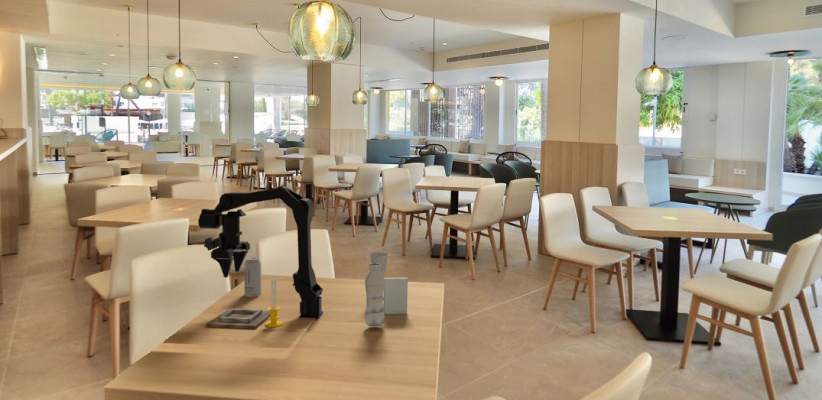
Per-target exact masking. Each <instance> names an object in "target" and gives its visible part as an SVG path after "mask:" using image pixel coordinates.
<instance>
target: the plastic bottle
mask: <svg viewBox="0 0 822 400" xmlns="http://www.w3.org/2000/svg"><path fill="white" fill-rule="evenodd" d="M368 267H369V268H368V270H369V272H368V274H367V275H366V277H364V278H365V279H364V286H365V297H366V300H365V301H366V303H365V304H366V305H365V311H364V312H365V313H364V322H365V323H364V324H366V326H368V327H371V328H373V327H380V326H383V324H384V323H385V319H386V318H385V317H386V316H385V315H386V314H384V311H383V310H384V300H383V298H384V284H385V279H384V278H385V276H383V275H382V274H381V272H380V270H381V264H379V263H371V262H370V263H369V265H368Z"/></svg>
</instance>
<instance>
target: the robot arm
mask: <svg viewBox="0 0 822 400" xmlns="http://www.w3.org/2000/svg"><path fill="white" fill-rule="evenodd" d="M277 199H278V200H279V199H280V200H281V201H282V202H283V203H284V204H285V205H286V206H287V207H289V209H291V211H292V215H293V219H294V222H295V224H296V227H297V228H296V229H297V233H296V234H297V259H298V267H297V271H295V272H294V273H292V279H293V280H292V281H293V284H292V287H294V290H295V292H296V293H297V294H299V297H300V300H301V301H299V314H300V315H299V317H300V318H307V319H308V318H309V319H319V318H320V317H321V316H322V315H323V313H324V311H323V309H322V306H323V305H322V300H323V299H322V296H321V295H322V294H323V291H324V289H323V287H322V286H320V284H319V283H318V282H317V277H316V273H315V271H314V268H313V265H312V264H313V263H312V240H311V239H312V236H311V235H312V234H311V224H312V221H313V217H314V211H315V204H314V202H313V200H311V199H310V198H306V197H303V196H302V195H300V194H299V193H297V192H295V191H293V189H291V188H290V187H288V186H284V185H283V186H279V187H276V188H270V189H269V188H268V189H264V190H258V191H251V192H244V191H243V192H240V191H238V192H237V191H233V192H225V193H223V194H222V195H221V196H220V197H219V200H218V201H219V202H218V203H217V204H216V206H215V207H214V208H213V209H212V208H211V209H210V208H201V212H200V214H199V217H198V219H197V221H198V227H199V228H200V229H208V230H209V229H210V230H218V229H220V228H222V229H221V230H222V231H221V232H220V233H219V235H218V237H215V238H212V237H208V238H204V245H203V247H204V248H206V249H207V251H210V258H211V259H212V260H213V261H216V262H217V263H218V264H219V267H220V270H221V272H222V275H223V278H229V274H230V271H231V267H232V264H233V265H234V272H236V273H239V272H240V269H241V267H242V265H243V262H245V261H244V260H246V256H247V255H248V253H249V251H250V250H251V244H250V243H249V241H241V236H243V231H241V230H240V229H241V225H240V223H241V222H240V221H241V220H240V219H241V217H246V216H247V214H246V213H245V211H243V210H242V209H241V207H244V206H247V205H249V204H254V203H259V202H260V203H261V202H265V201H272V200H277ZM239 208H240V209H239ZM236 209H237V210H236ZM235 210H236V211H235ZM225 212H227V213H225ZM211 250H212V251H211Z"/></svg>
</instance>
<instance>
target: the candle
mask: <svg viewBox="0 0 822 400" xmlns="http://www.w3.org/2000/svg"><path fill="white" fill-rule="evenodd" d="M280 309H281V307H280V306H277V278H276V277H274V276H273V277H271V280H270V306H269V307H267V311H270V317H269V318H268V320H270V321H267V322H264V323H265V327H267V328H278V327H281V326H283V322H282V321H281V320H279V319H280V316H279V315H278V310H280Z"/></svg>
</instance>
